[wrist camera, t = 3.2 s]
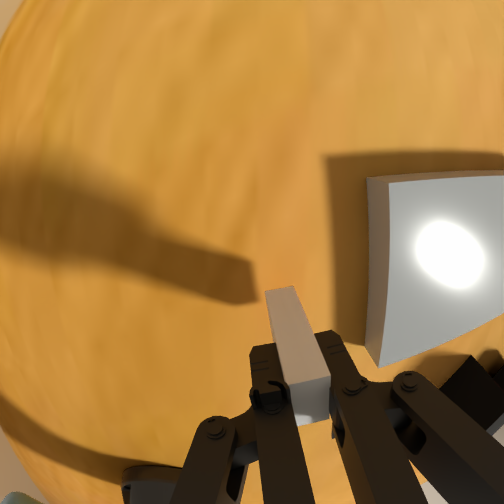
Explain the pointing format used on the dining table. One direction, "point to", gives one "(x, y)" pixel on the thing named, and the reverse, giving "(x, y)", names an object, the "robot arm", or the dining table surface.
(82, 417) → the dining table surface
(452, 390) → the toy
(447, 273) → the tile
